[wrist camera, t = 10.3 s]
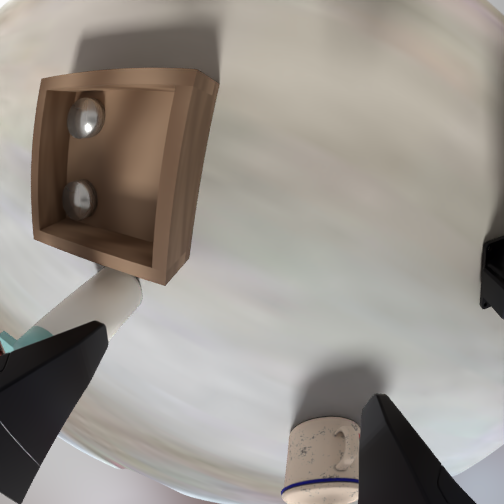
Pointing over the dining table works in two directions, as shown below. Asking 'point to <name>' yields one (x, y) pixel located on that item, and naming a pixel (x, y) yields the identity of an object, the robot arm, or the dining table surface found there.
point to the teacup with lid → (323, 462)
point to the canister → (86, 308)
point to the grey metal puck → (79, 199)
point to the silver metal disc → (86, 118)
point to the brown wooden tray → (124, 166)
